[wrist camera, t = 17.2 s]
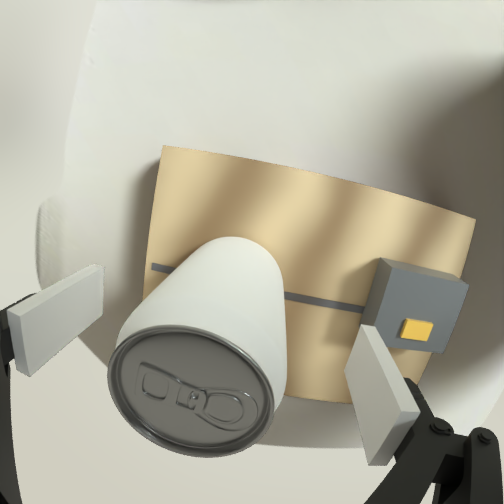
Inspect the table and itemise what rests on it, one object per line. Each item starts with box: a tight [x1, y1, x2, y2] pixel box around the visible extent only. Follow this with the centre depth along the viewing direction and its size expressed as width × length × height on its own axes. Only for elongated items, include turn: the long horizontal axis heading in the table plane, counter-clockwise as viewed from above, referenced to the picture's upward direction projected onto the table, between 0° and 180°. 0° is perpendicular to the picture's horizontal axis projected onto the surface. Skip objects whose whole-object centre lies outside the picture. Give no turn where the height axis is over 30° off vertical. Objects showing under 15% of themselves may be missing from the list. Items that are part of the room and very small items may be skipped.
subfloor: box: [142, 145, 476, 404], centre depth 23 cm, size 23×16×5 cm
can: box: [107, 237, 287, 458], centre depth 15 cm, size 6×6×12 cm
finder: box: [358, 257, 469, 353], centre depth 19 cm, size 6×5×3 cm
